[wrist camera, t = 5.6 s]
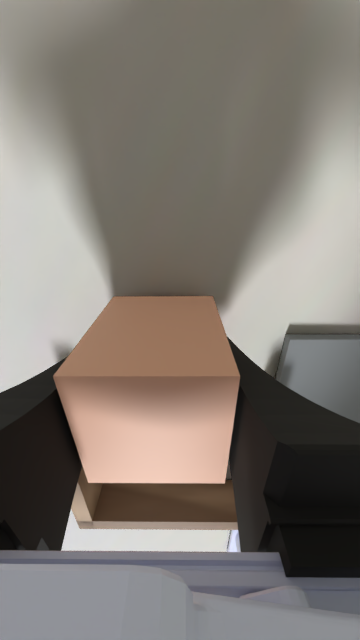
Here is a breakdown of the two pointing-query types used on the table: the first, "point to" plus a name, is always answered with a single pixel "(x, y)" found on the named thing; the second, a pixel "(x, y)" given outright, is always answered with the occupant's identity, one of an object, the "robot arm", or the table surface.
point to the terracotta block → (152, 392)
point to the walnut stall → (154, 505)
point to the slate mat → (323, 370)
